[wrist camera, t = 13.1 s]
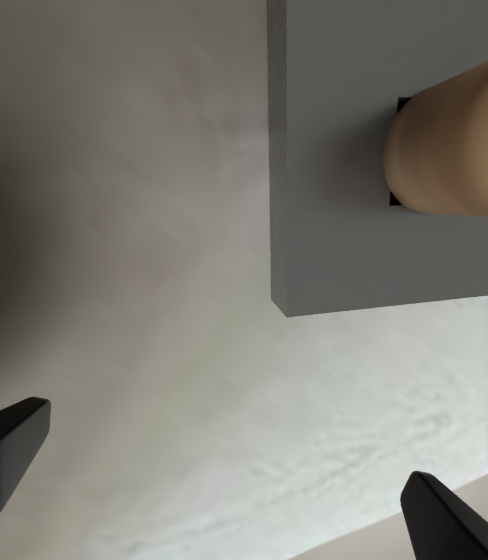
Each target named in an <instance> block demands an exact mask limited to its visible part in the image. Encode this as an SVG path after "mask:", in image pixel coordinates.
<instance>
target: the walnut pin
mask: <svg viewBox="0 0 488 560" xmlns="http://www.w3.org/2000/svg"><path fill="white" fill-rule="evenodd" d="M383 165H384V173H385V177H386V180H387V183H388V186H389V188H390V190H391V192H392V193H393V195H394V196H395V198H396V199H397V200H398V201H399V202H400V203H401V204H403V205H404V206H405V207H407V208H409V209H411V210H413V211H416V212H420V213H432V214H449V215H467V216H485V217H488V61H487V62H485V63H483V64H481V65H478V66H476V67H474V68H472V69H470V70H467V71H465V72H463V73H461V74H459V75H456V76H454V77H452V78H450V79H448V80H445V81H443V82H441V83H439V84H437V85H434V86H432V87H430V88H428V89H426V90H423V91H422V92H420V93H418V94H416V95H415V96H414V97H412V98H411V99H410V100H409V101H408V102H407V103H406V104H405V105H404V106H403V107H402V108H401V109H400V111H399V112H398V113H397V115H396V117H395V118H394V120H393V122H392V124H391V126H390V128H389V131H388V134H387V137H386V141H385V145H384V152H383Z"/></svg>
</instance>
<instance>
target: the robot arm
mask: <svg viewBox="0 0 488 560" xmlns="http://www.w3.org/2000/svg"><path fill="white" fill-rule="evenodd" d="M50 413H51V402H50V401H49V400H48V399H44V398H39V397H29V398H27V399H25V400H22V401H20V402H18V403H16V404H13V405H11V406H9V407H7V408H5V409H2V410H0V512H1V511H2V509H3V508H4V506H5V505H6V503H7V501H8V500H9V498H10V497H11V495H12V493H13V492H14V490H15V488H16V487H17V485H18V484H19V482H20V480H21V479H22V477H23V475H24V474H25V472H26V470H27V469H28V467H29V465H30V464H31V462H32V460H33V459H34V457H35V455H36V454H37V452H38V450H39V449H40V447H41V445H42V444H43V442H44V440H45V439H46V437H47V435H48V432H49V428H50ZM400 501H401V507H402V511H403V514H404V518H405V522H406V525H407V529H408V532H409V536H410V539H411V543H412V546H413V550H414V554H415V557H416V560H488V522H487V521H485V520H484V519H483V518H482V517H481V516H480V515H478V514H477V513H476V512H475V511H474V510H473V509H472V508H471V507H469V506H468V505H467V504H466V503H465V502H463V501H462V500H461V499H460V498H459V497H458V496H457V495H455V494H454V493H453V492H452V491H451V490H450V489H448V488H447V487H446V486H445V485H444V484H443V483H441V482H440V481H439V480H438V479H437V478H436V477H435V476H433V475H432V474H430V473H426V472H420V471H414V472H412V473H411V475H410V477H409V479H408V481H407V483H406V485H405V487H404V489H403V491H402V493H401V498H400Z"/></svg>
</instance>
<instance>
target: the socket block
mask: <svg viewBox="0 0 488 560" xmlns="http://www.w3.org/2000/svg"><path fill="white" fill-rule="evenodd" d="M267 31H268V101H269V171H270V240H271V300H272V301H273V302H274V303H275V304H276V306H277V307H278V308H279V309H280V310H281V311H282V312H283V314H284V315H285V316H286V317H293V316H302V315H312V314H321V313H330V312H339V311H348V310H358V309H367V308H376V307H385V306H395V305H404V304H413V303H422V302H431V301H441V300H450V299H459V298H468V297H477V296H487V295H488V217H485V216H467V215H449V214H432V213H420V212H416V211H413V210H411V209H409V208H407V207H405V206H404V205H403V204H401V203H393V204H389V203H390V191H391V190H390V188H389V186H388V183H387V180H386V177H385V173H384V165H383V152H384V145H385V141H386V137H387V134H388V131H389V128H390V126H391V124H392V122H393V120H394V118H395V117H396V115H397V113H398V112H399V111H400V109H401V108H402V107H403V106H404V105H405V104H406V103H407V102H408V101H409V100H410V99H411V98H412V97H414V96H415V95H416V94H418V93H420V92H422V91H423V90H426V89H428V88H430V87H432V86H434V85H437V84H439V83H441V82H443V81H445V80H448V79H450V78H452V77H454V76H456V75H459V74H461V73H463V72H465V71H467V70H470V69H472V68H474V67H476V66H478V65H481V64H483V63H485V62H487V61H488V0H267Z"/></svg>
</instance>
